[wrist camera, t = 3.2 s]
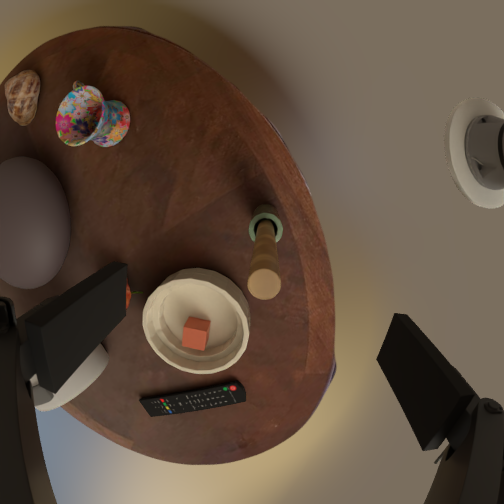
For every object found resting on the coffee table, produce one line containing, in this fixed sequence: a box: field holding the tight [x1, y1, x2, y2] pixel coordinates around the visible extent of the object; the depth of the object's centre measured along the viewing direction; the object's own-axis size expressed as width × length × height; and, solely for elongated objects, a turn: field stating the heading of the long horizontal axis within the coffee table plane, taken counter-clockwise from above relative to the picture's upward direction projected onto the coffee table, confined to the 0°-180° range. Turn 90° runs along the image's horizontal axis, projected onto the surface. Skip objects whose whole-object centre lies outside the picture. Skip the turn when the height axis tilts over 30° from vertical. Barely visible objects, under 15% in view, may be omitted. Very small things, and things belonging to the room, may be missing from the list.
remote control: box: [139, 381, 246, 417], centre depth 57 cm, size 5×24×1 cm, turn 110°
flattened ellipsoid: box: [0, 156, 71, 289], centre depth 42 cm, size 25×25×15 cm
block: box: [182, 316, 211, 351], centre depth 50 cm, size 4×4×4 cm
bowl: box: [143, 268, 251, 374], centre depth 49 cm, size 18×18×6 cm
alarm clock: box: [30, 343, 109, 411], centre depth 47 cm, size 21×8×20 cm, turn 116°
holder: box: [248, 204, 283, 243], centre depth 42 cm, size 4×4×12 cm
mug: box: [56, 81, 130, 147], centre depth 39 cm, size 12×9×11 cm
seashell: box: [5, 70, 41, 126], centre depth 40 cm, size 10×9×10 cm
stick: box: [247, 218, 281, 300], centre depth 32 cm, size 2×2×30 cm
